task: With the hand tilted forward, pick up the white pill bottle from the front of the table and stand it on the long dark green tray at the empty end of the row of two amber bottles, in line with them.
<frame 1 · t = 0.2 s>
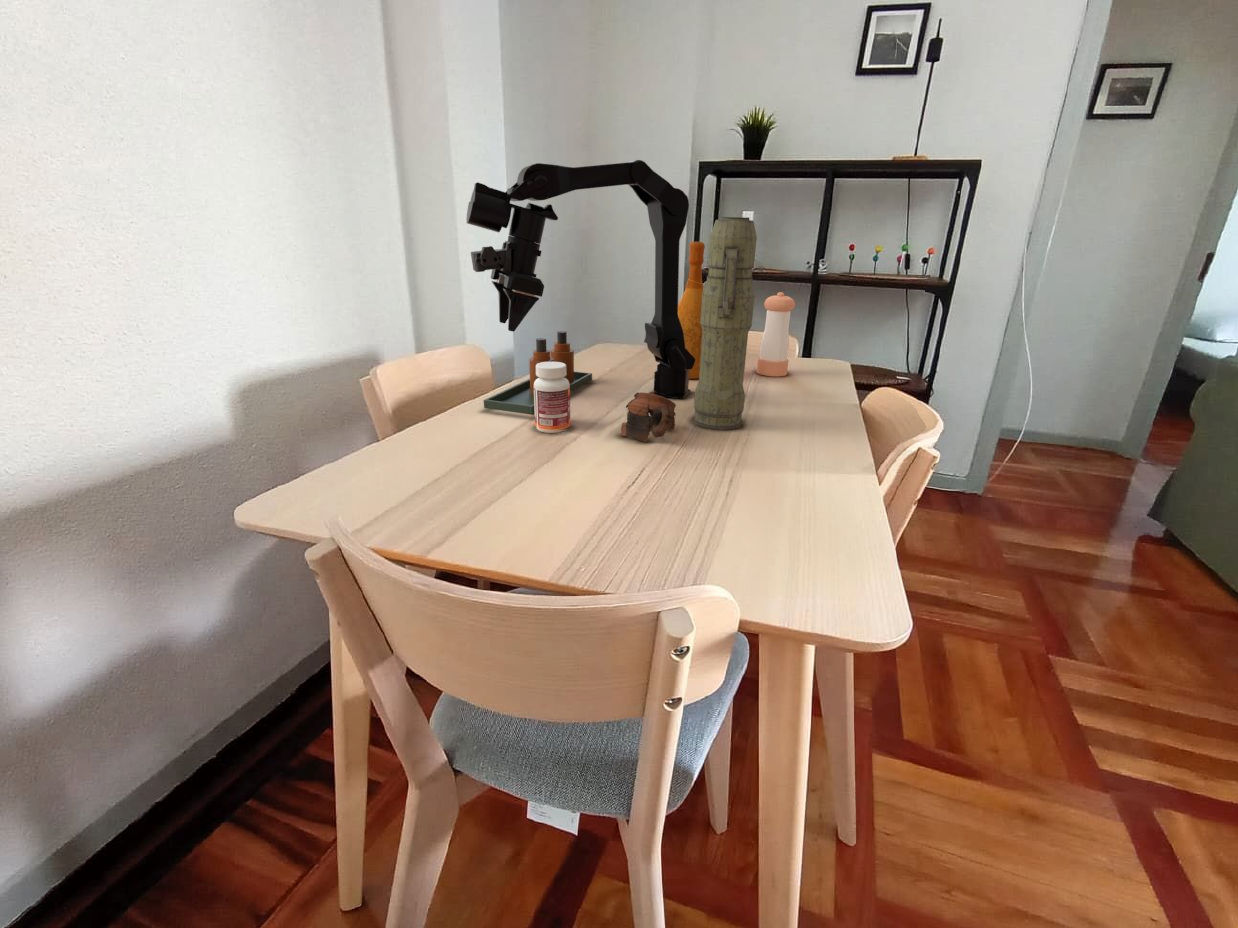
hand: (506, 326, 113), 15 cm above the table, tool pointing down, fingers open, 9 cm apart
brown rough arched piece: (650, 436, 105), on the table
wine bottle: (688, 376, 145), on the table
amber bottle middle: (542, 392, 125), resting on tray
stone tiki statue: (717, 423, 112), on the table
pepper shaker: (771, 373, 149), on the table
tray: (542, 396, 126), on the table
amber bottle end: (562, 382, 134), resting on tray
pill bottle: (552, 429, 107), on the table
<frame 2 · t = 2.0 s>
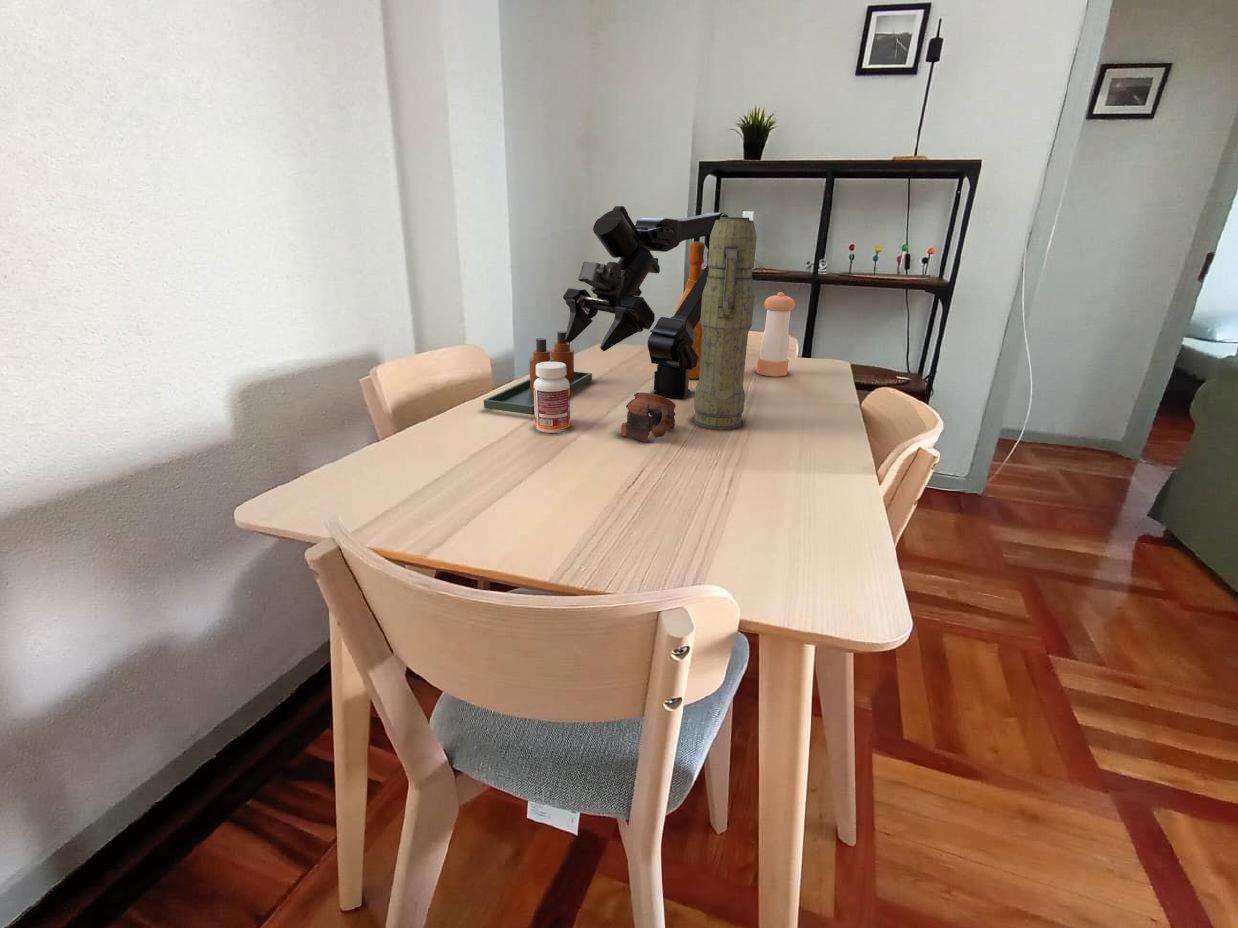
hand: (583, 345, 108), 13 cm above the table, tool tilted 45°, fingers open, 9 cm apart
nothing on the table moved.
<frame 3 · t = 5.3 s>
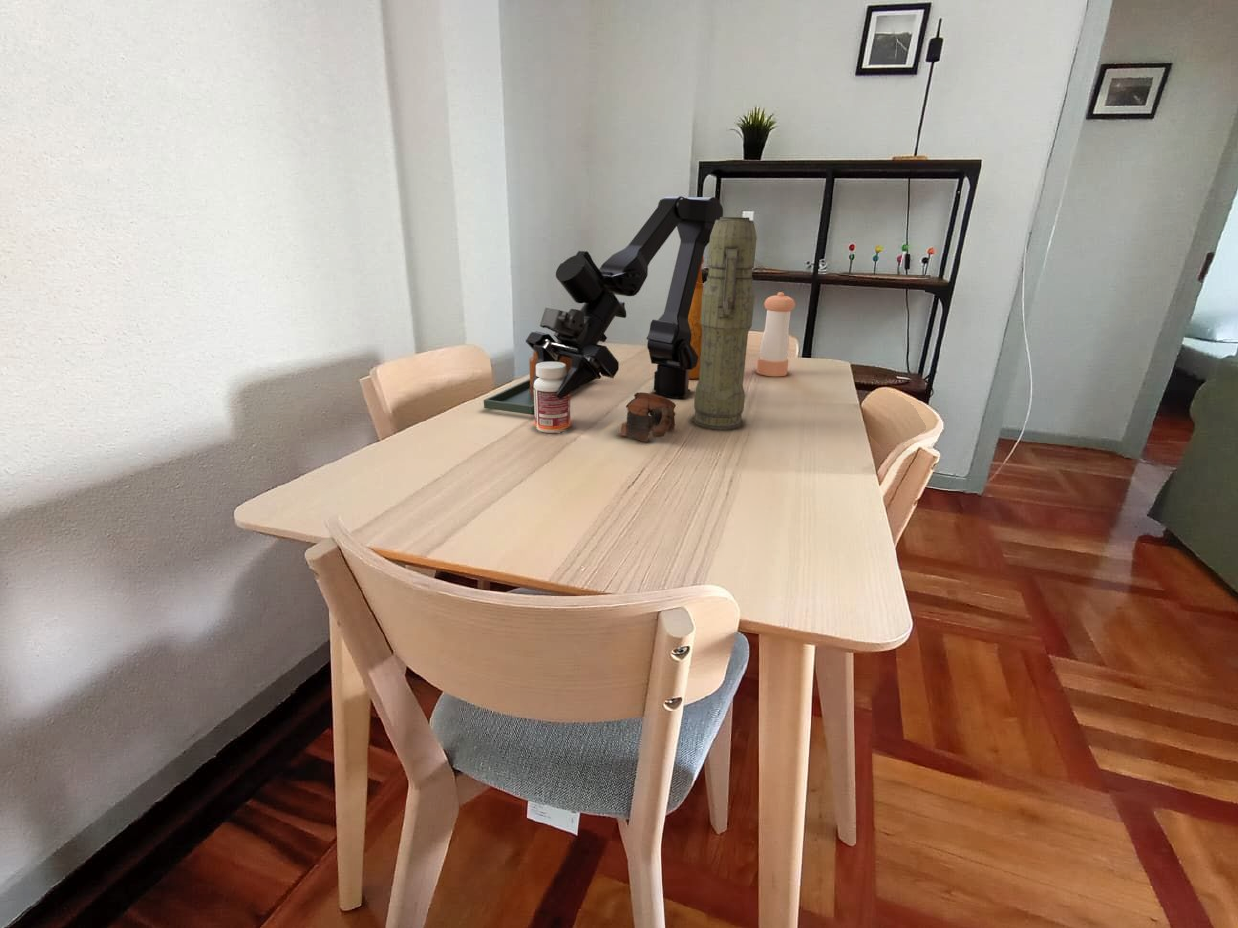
hand: (545, 393, 104), 7 cm above the table, tool tilted 45°, fingers closed on pill bottle, 6 cm apart
pill bottle: (552, 429, 107), on the table, touching gripper
everything else where it was.
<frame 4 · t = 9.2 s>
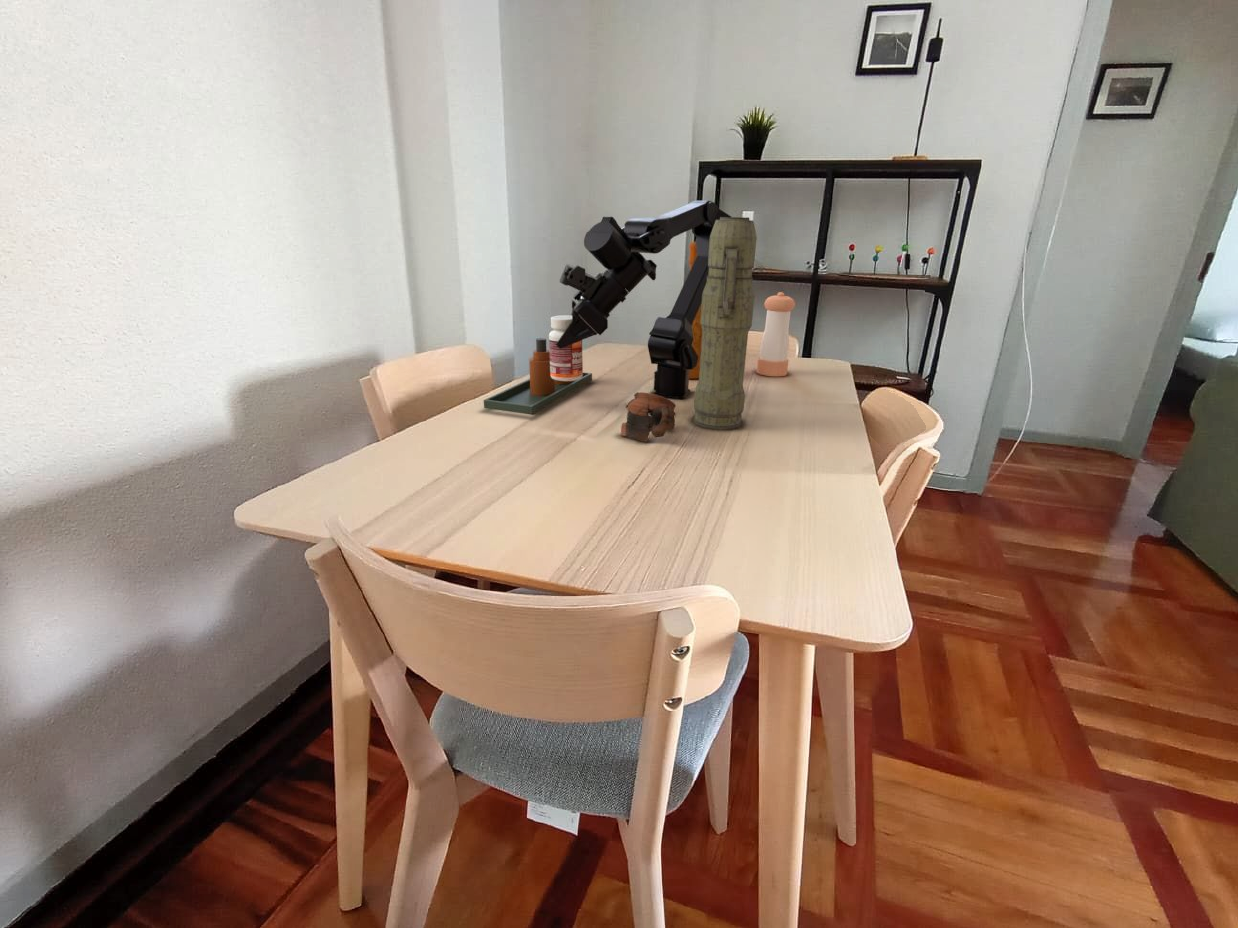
hand: (558, 343, 113), 13 cm above the table, tool tilted 45°, fingers closed on pill bottle, 6 cm apart
pill bottle: (566, 378, 116), point 6 cm above the table, touching gripper
everything else where it was.
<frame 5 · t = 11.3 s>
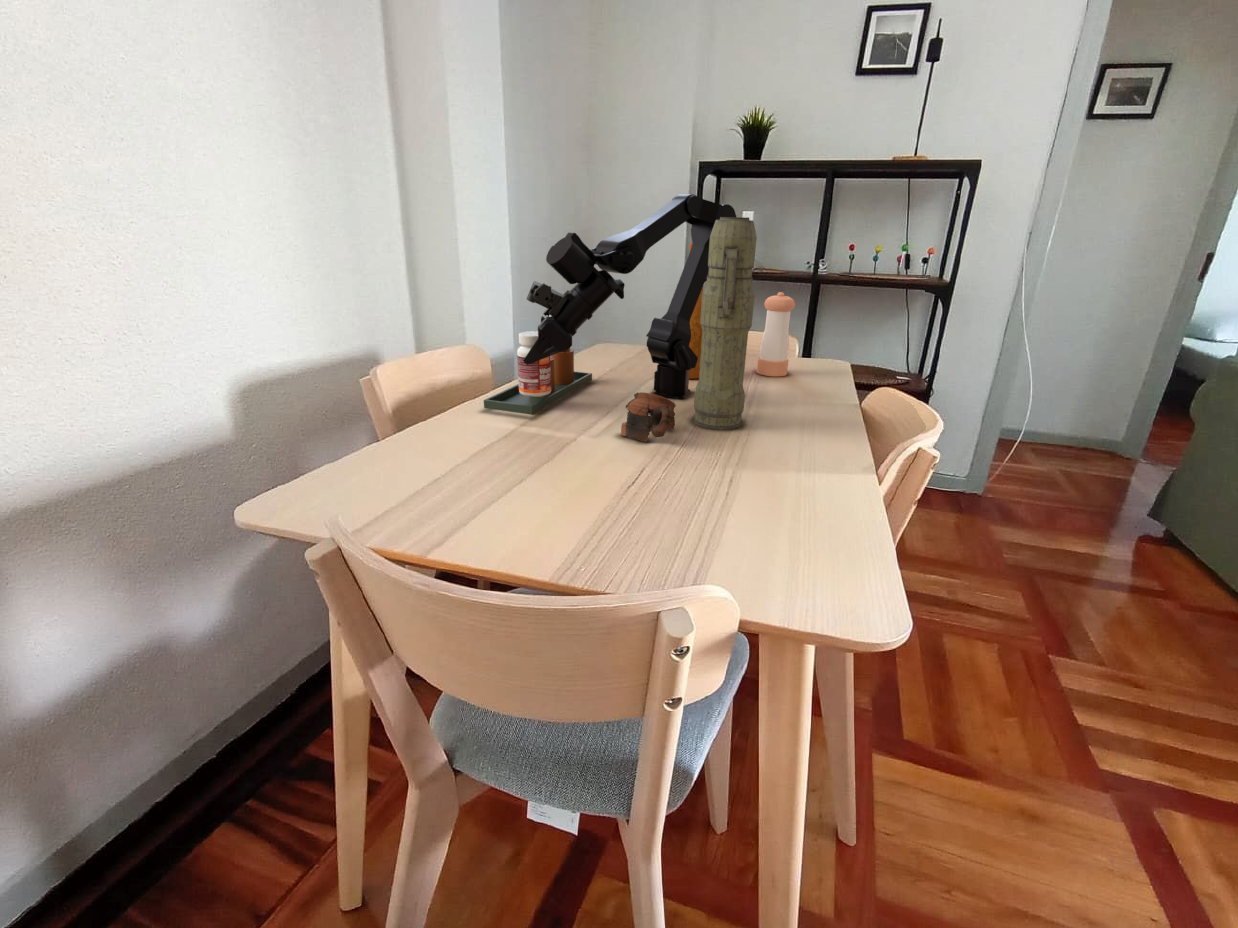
hand: (526, 359, 114), 10 cm above the table, tool tilted 45°, fingers closed on pill bottle, 6 cm apart
pill bottle: (535, 394, 117), point 3 cm above the table, touching gripper
everything else where it was.
when the fingers open (7 cm above the table, at t = 12.9 s): pill bottle stays where it is, resting on tray.
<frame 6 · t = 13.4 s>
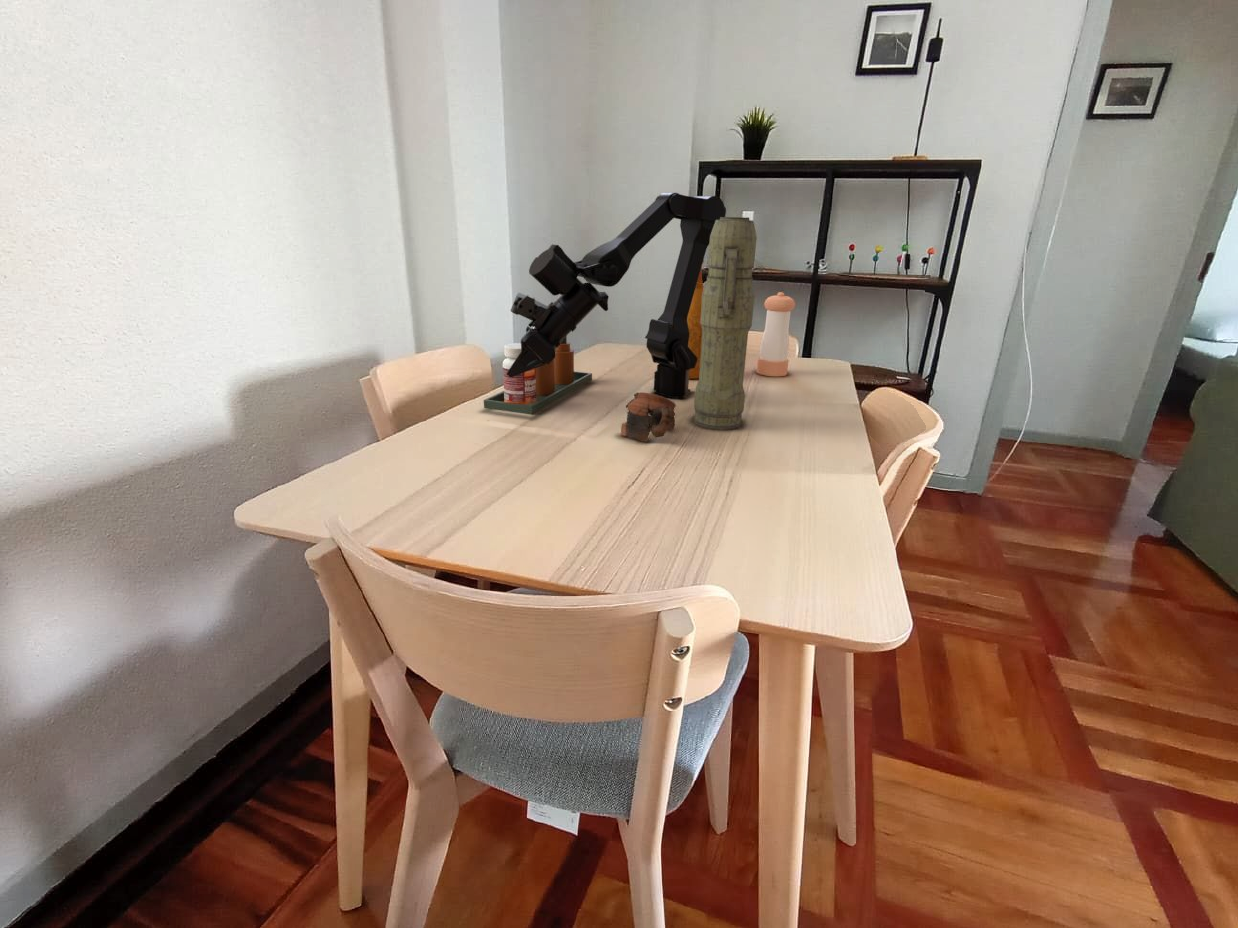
hand: (511, 370, 114), 8 cm above the table, tool tilted 45°, fingers open, 8 cm apart
pill bottle: (520, 405, 117), point 1 cm above the table, touching tray
everything else where it was.
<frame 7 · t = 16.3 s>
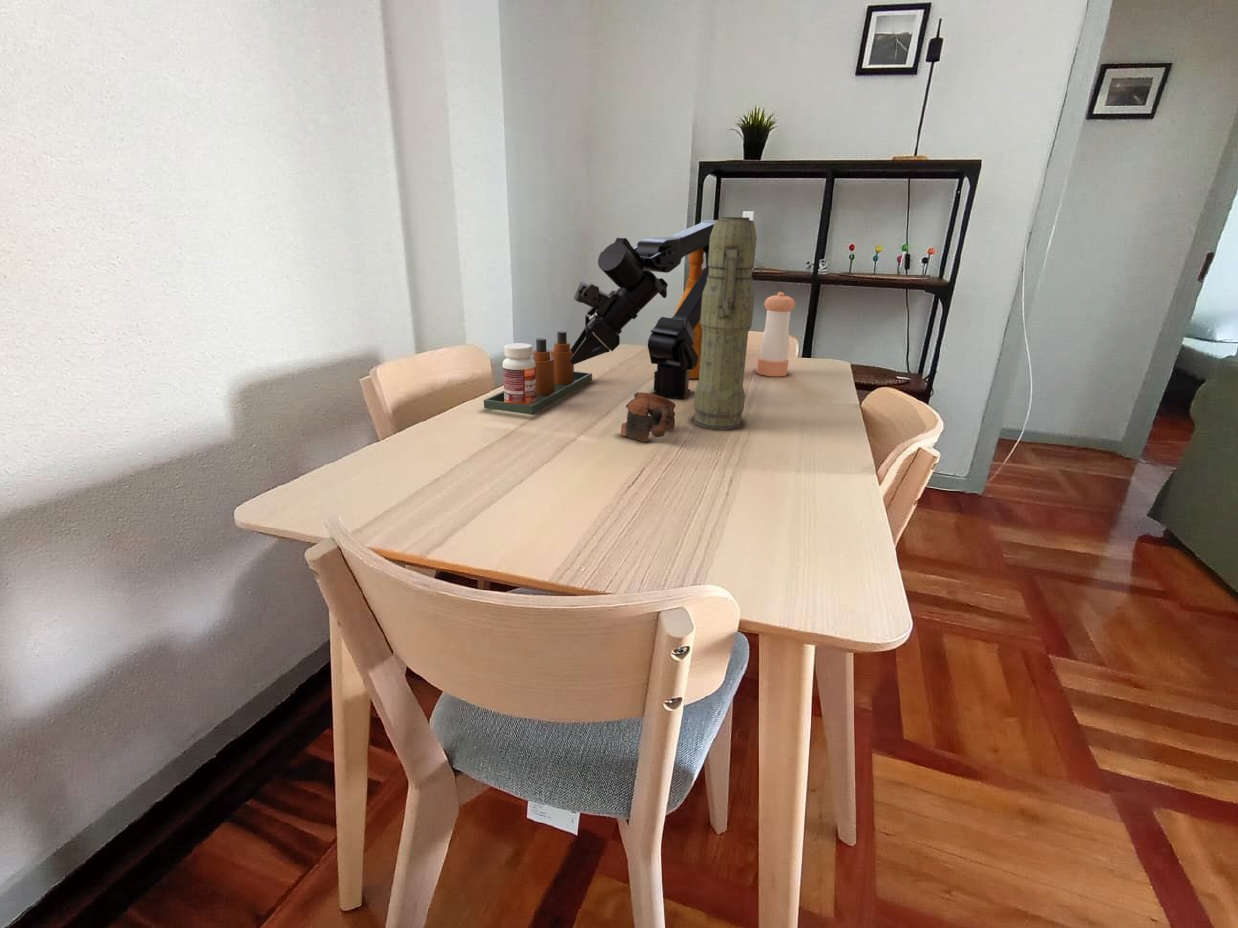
hand: (571, 357, 117), 9 cm above the table, tool tilted 45°, fingers open, 9 cm apart
nothing on the table moved.
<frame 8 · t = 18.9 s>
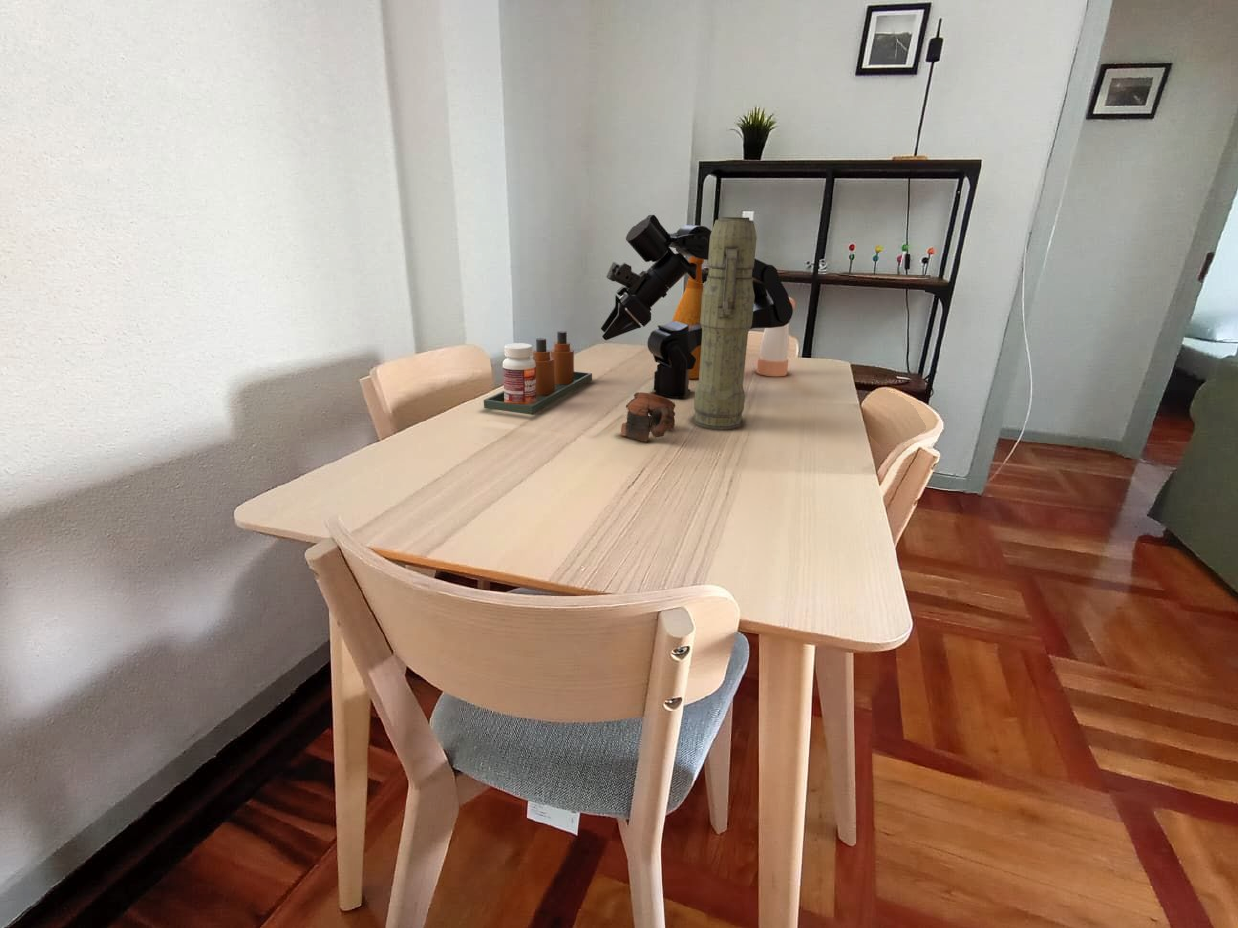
hand: (603, 334, 123), 13 cm above the table, tool tilted 45°, fingers open, 9 cm apart
nothing on the table moved.
at the end: pill bottle 0.1 cm from the target spot in the tray, point 0.6 cm above the tray's base; pill bottle tilted 0°; the gripper is holding nothing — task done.
